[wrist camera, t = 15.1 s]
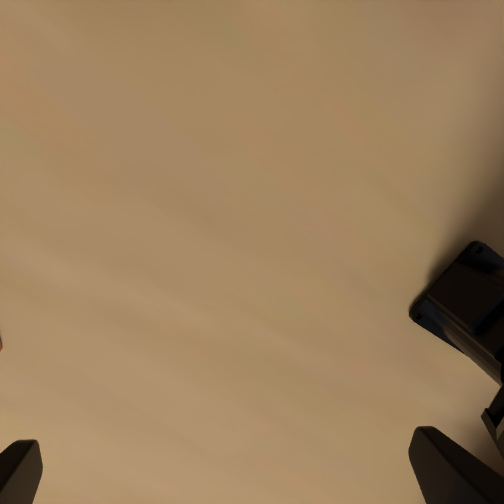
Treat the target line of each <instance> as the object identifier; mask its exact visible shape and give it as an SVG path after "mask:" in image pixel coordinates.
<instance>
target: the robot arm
mask: <svg viewBox="0 0 504 504" xmlns="http://www.w3.org/2000/svg"><path fill="white" fill-rule="evenodd" d="M478 247H479V248H478ZM476 248H478V250H477V251H475V250H476ZM418 313H419V315H418V316H416V315H417V314H418ZM409 317H410V318H411V319H412V320H413V321H414V322H415V323H417V324H418V325H420V326H421V327H423V328H424V329H426V330H428V331H429V332H431V333H432V334H434V335H435V336H437V337H439V338H440V339H442V340H443V341H445V342H446V343H448V344H449V345H451V346H453V347H454V348H456V349H457V350H459V351H460V352H462V353H463V354H465V355H467V356H468V357H469V358H470V359H472V360H473V361H474V362H475V363H476V364H477V365H478V366H479V367H480V368H481V369H482V370H483V371H485V372H486V373H487V374H488V375H489V376H490V377H491V378H492V379H493V380H494V381H495V382H497V383H498V384H499V385H500V386H501V387H500V389H499V391H498V392H497V394H496V396H495V397H494V399H493V401H492V402H491V404H490V406H489V407H488V408H485V410H484V412H483V413H482V415H481V418H482V420H483V422H484V424H485V426H486V428H487V429H488V431H489V433H490V435H491V437H492V439H493V441H494V442H495V444H496V446H497V448H498V450H499V452H500V453H501V455H502V457H503V459H504V259H503V258H502V257H501V256H500V255H498V254H497V253H496V252H495V251H493V250H492V249H491V248H490V247H488V246H487V245H486V244H484V243H482V242H480V241H473V242H472V243H470V244H469V245H468V247H467V248H466V249H465V250H464V251H463V252H462V253H461V254H460V255H459V257H458V258H457V259H456V260H455V261H454V262H453V263H452V264H451V266H450V267H449V268H448V269H447V270H446V271H445V272H444V273H443V274H442V276H441V277H440V278H439V279H438V280H437V281H436V282H435V283H434V284H433V286H432V287H431V288H430V289H429V290H428V291H427V292H426V293H425V295H424V296H423V297H422V298H421V299H420V300H419V301H418V302H417V303H416V305H415V306H414V307H413V308H412V309H411V310H410V312H409ZM408 453H409V459H410V462H411V465H412V468H413V470H414V473H415V475H416V478H417V481H418V483H419V486H420V489H421V491H422V494H423V497H424V499H425V502H426V504H504V478H503V477H502V476H500V475H499V474H498V473H496V472H495V471H494V470H492V469H491V468H490V467H488V466H487V465H485V464H484V463H483V462H481V461H480V460H479V459H477V458H476V457H475V456H473V455H472V454H471V453H469V452H468V451H466V450H465V449H464V448H462V447H461V446H460V445H458V444H457V443H456V442H454V441H453V440H451V439H450V438H449V437H447V436H446V435H445V434H443V433H442V432H441V431H439V430H438V429H436V428H435V427H432V426H419V427H417V428H416V429H415V431H414V434H413V437H412V440H411V443H410V446H409V452H408ZM42 471H43V464H42V458H41V453H40V448H39V443H38V441H37V440H34V439H30V440H17V441H15V442H13V443H12V444H11V445H10V446H8V447H7V448H6V449H5V450H4V451H3V452H1V453H0V504H32V503H33V500H34V497H35V494H36V491H37V488H38V485H39V482H40V479H41V476H42Z"/></svg>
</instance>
